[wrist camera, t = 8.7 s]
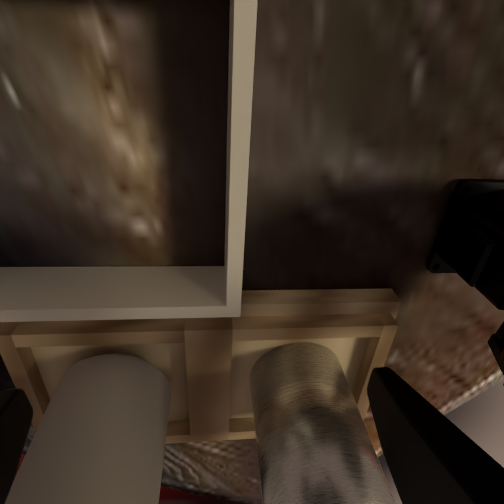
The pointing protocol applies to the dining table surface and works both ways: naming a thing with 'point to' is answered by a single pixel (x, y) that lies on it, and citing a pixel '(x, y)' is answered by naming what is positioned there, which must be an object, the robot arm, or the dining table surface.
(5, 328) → the wooden divided tray
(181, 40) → the dining table surface
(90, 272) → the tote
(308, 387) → the steel billet
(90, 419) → the can
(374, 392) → the robot arm
